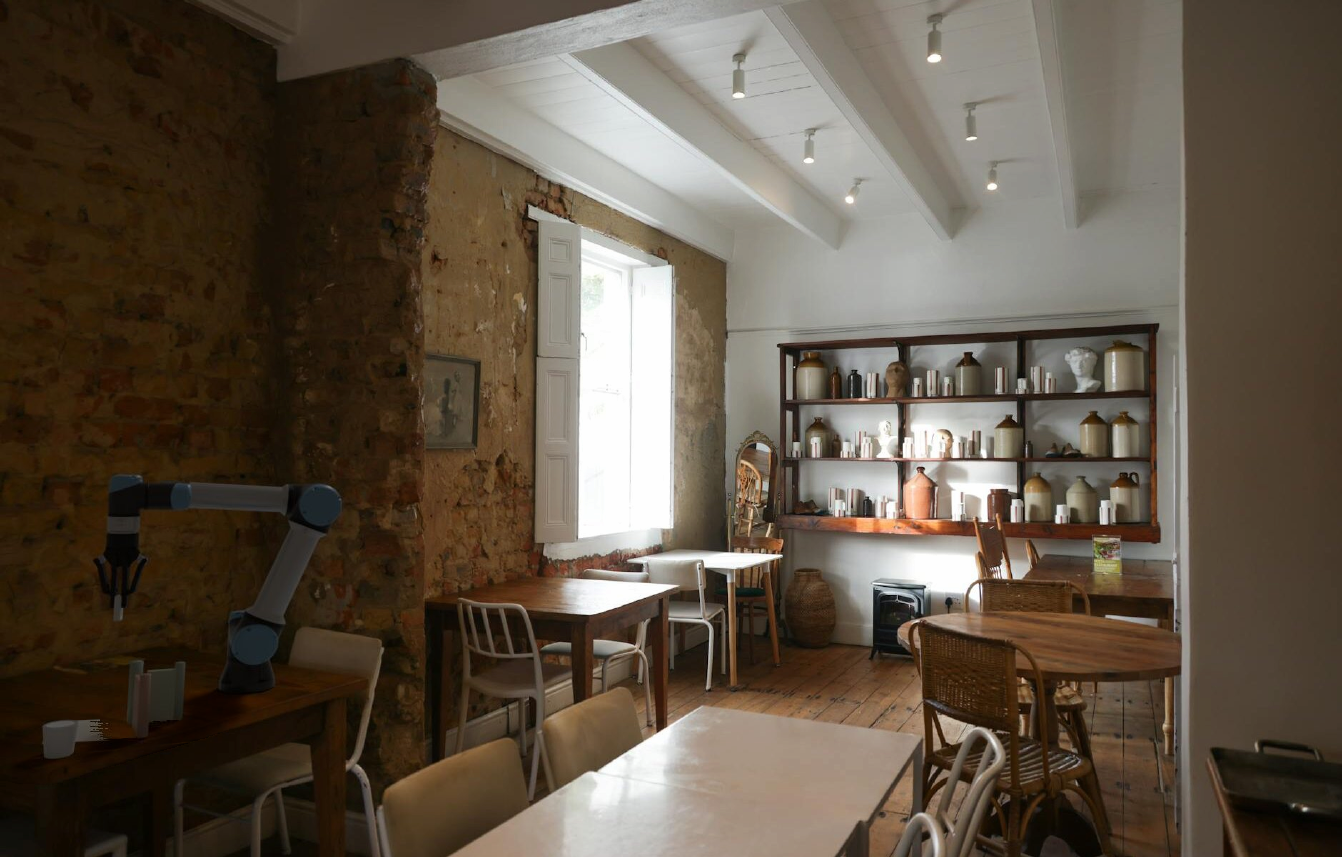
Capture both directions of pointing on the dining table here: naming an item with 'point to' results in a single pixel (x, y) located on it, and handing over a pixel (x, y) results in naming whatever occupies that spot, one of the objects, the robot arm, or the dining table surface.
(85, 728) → the card
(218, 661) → the dining table surface
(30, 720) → the dining table surface
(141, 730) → the gate panel
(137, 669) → the fence post and fixed panel
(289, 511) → the robot arm
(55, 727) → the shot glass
